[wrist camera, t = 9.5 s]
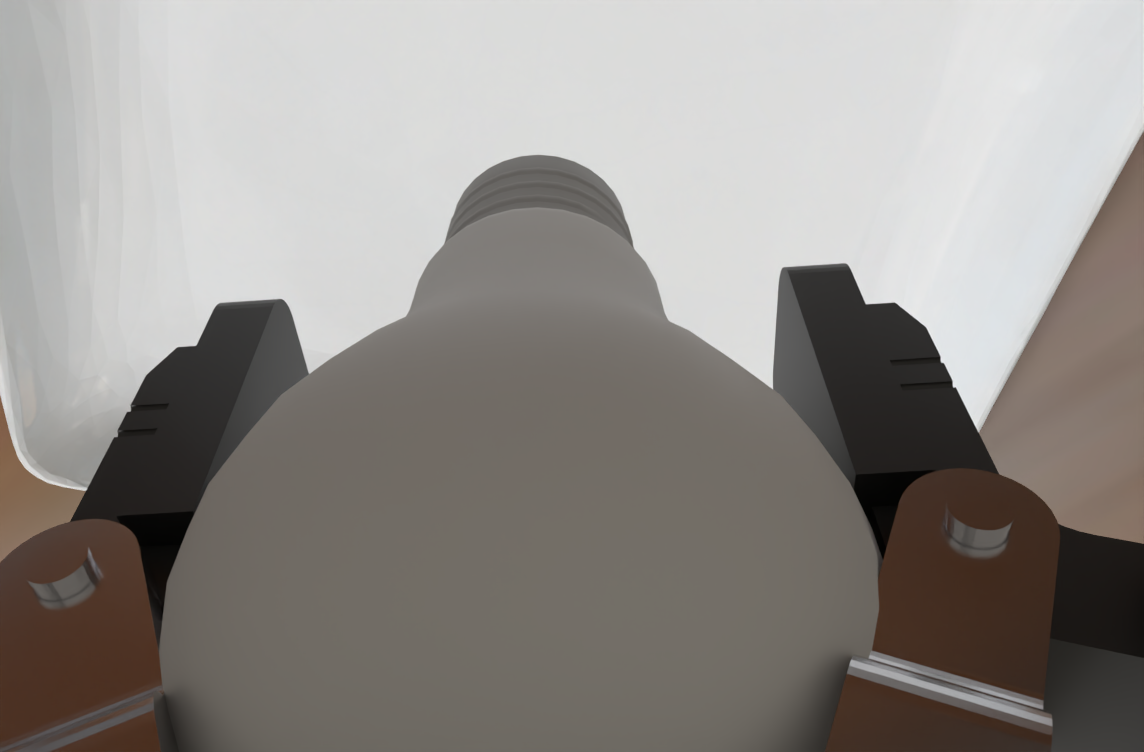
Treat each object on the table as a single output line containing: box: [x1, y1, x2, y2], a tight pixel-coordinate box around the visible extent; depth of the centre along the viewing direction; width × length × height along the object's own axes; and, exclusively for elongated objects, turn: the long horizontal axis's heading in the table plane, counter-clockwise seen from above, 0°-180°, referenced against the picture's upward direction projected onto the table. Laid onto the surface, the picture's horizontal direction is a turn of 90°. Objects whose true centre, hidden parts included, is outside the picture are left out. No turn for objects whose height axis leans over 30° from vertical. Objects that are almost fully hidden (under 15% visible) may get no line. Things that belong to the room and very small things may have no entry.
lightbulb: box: [159, 155, 883, 752], centre depth 11 cm, size 6×6×11 cm
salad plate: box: [0, 0, 1144, 491], centre depth 19 cm, size 21×21×3 cm
